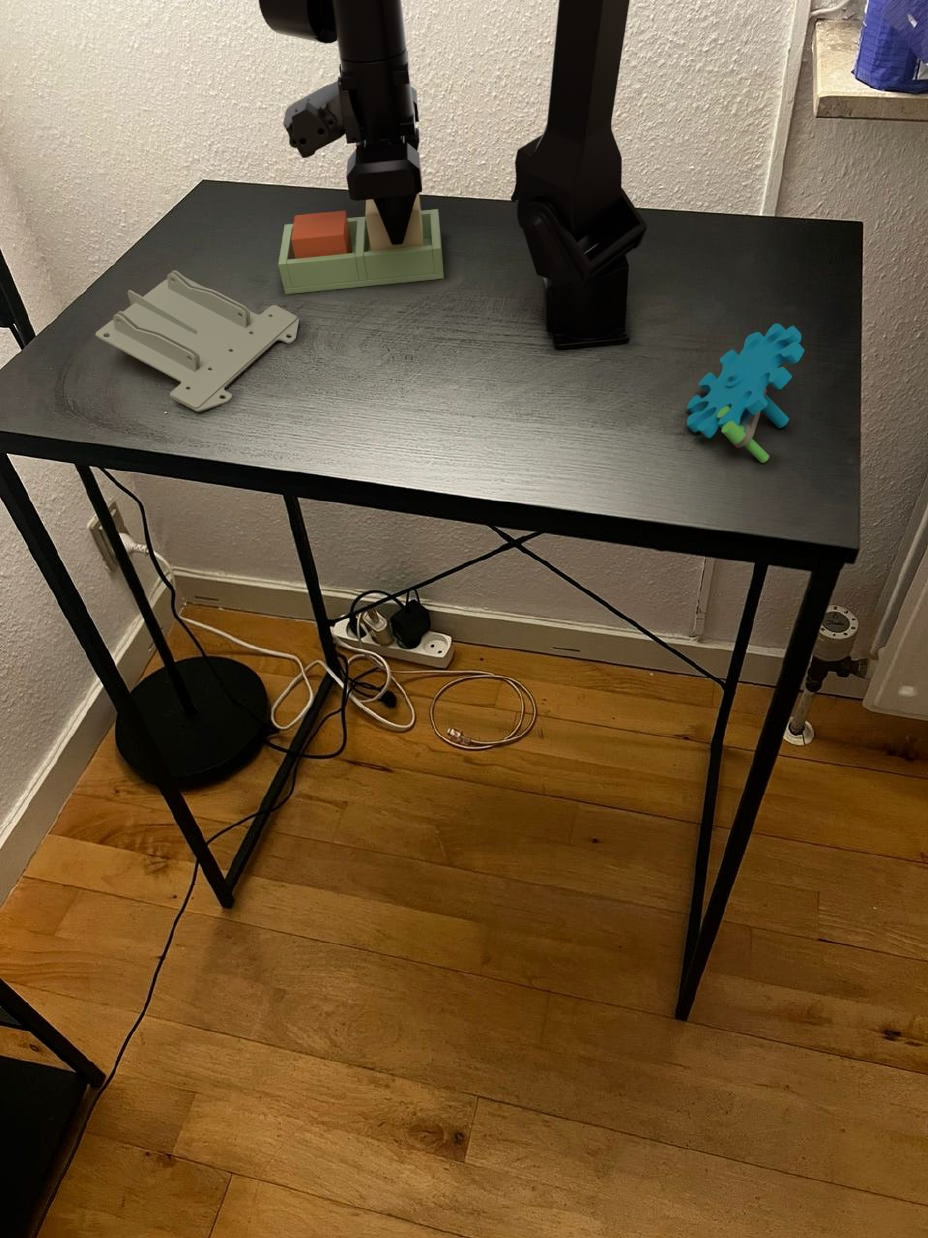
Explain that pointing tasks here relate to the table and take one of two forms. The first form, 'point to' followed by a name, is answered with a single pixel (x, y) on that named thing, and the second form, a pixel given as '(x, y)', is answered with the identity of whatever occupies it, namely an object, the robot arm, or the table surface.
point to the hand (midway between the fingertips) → (397, 230)
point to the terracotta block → (321, 235)
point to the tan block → (380, 236)
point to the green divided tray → (363, 261)
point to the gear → (746, 388)
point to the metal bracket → (196, 337)
